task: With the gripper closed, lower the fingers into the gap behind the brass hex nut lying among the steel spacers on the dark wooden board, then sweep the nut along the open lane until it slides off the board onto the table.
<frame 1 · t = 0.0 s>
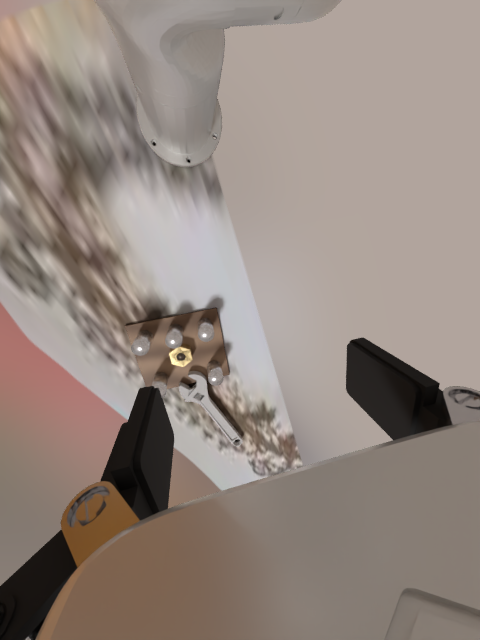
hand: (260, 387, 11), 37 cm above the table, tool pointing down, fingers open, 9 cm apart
nut: (181, 352, 49), point 1 cm above the table, touching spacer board
adjustable wrench: (211, 410, 56), on the table, touching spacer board
spacers: (180, 358, 47), on the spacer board
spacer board: (181, 351, 50), on the table
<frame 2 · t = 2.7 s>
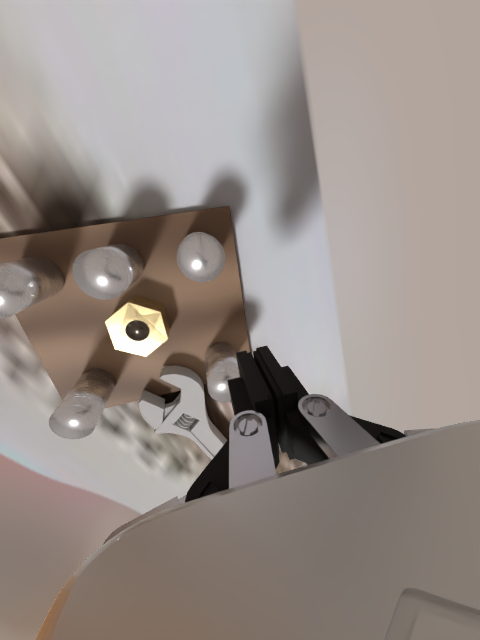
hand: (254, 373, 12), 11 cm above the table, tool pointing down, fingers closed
nut: (142, 321, 20), point 1 cm above the table, touching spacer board
adjustable wrench: (213, 445, 28), on the table, touching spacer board
spacers: (136, 333, 18), on the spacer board, point 3 cm above the table
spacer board: (143, 319, 21), on the table
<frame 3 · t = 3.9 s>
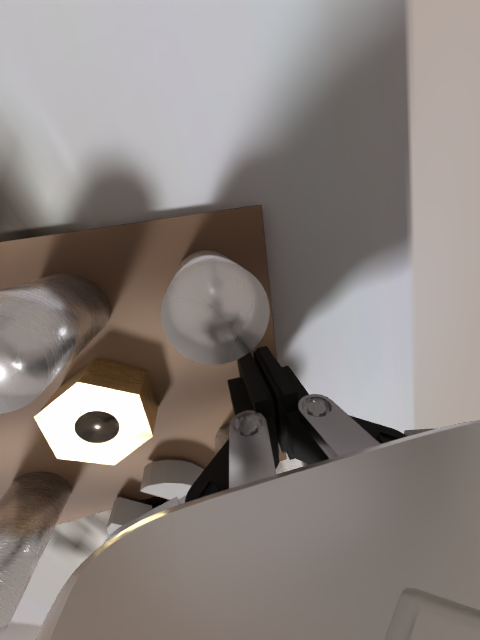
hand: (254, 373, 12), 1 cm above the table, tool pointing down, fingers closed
nut: (111, 397, 12), point 1 cm above the table, touching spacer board
adjustable wrench: (225, 551, 19), on the table, touching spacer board
spacers: (92, 435, 10), on the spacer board
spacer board: (114, 391, 13), on the table
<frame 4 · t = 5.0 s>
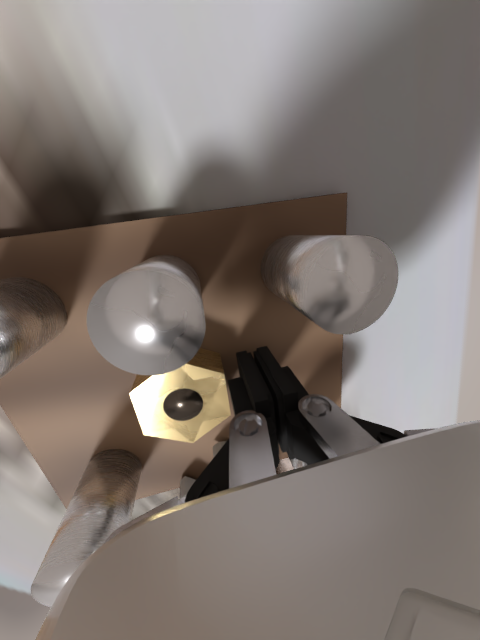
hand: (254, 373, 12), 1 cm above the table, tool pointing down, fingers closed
nut: (184, 380, 13), point 1 cm above the table, touching gripper, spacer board
spacers: (189, 409, 10), on the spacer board, point 3 cm above the table
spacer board: (190, 372, 13), on the table
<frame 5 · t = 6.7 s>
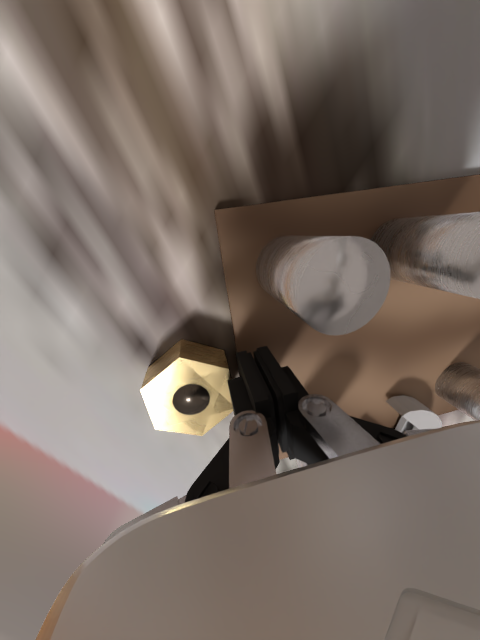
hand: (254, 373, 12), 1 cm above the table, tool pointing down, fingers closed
nut: (191, 376, 13), on the table, touching gripper
adjustable wrench: (396, 494, 21), on the table, touching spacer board
spacers: (421, 353, 12), on the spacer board
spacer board: (378, 331, 15), on the table
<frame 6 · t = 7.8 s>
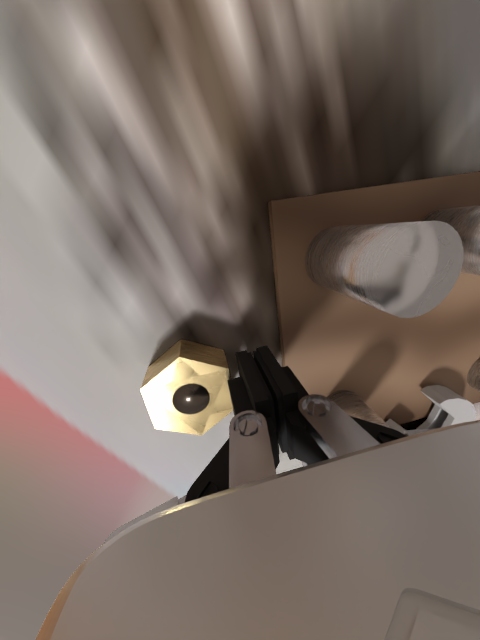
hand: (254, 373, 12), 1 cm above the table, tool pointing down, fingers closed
nut: (191, 376, 13), on the table, touching gripper
adjustable wrench: (422, 484, 21), on the table, touching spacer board
spacers: (465, 341, 12), on the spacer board
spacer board: (415, 321, 15), on the table
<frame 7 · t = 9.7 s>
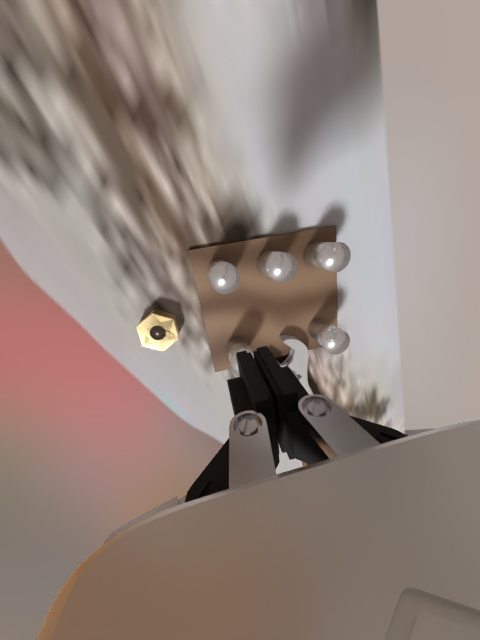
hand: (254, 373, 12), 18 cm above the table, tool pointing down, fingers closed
nut: (160, 327, 29), on the table
adjustable wrench: (302, 401, 37), on the table, touching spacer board
spacers: (279, 307, 28), on the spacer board
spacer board: (271, 301, 31), on the table
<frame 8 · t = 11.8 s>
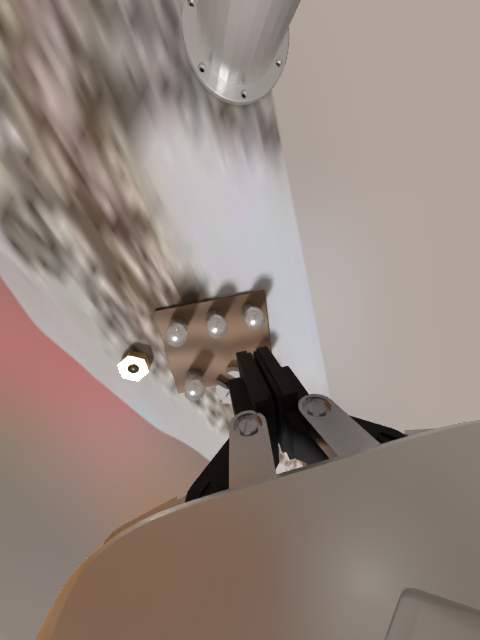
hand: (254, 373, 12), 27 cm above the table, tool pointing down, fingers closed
nut: (136, 362, 40), on the table
adjustable wrench: (249, 413, 48), on the table, touching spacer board
spacers: (221, 350, 38), on the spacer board, point 3 cm above the table
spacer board: (219, 343, 41), on the table
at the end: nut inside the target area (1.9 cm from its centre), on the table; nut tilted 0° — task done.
